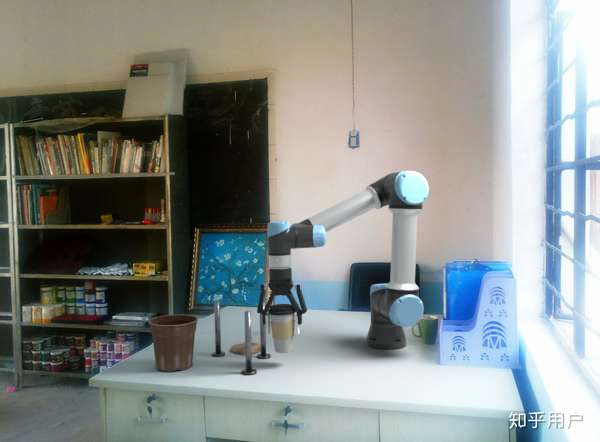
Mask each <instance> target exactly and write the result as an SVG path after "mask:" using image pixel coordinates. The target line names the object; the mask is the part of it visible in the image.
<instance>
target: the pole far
mask: <svg viewBox="0 0 600 442" xmlns="http://www.w3.org/2000/svg"><path fill="white" fill-rule="evenodd" d="M220 302H221V301H220V299H214V300H213V309H214V312H213V313H214V315H213V316H214V338H215V340H214V343H215V345H214V347H215V348H214V349H215V351H214V352H211V355H210V356H211V357H213V358H222V357H225V356H226V352H225V351H222V339H221V338H222V334H221V303H220Z"/></svg>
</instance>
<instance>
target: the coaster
mask: <svg viewBox="0 0 600 442" xmlns="http://www.w3.org/2000/svg"><path fill="white" fill-rule="evenodd" d="M251 344H252V355H255V354H256V355H257V354H260V353H261V343H256V342H251ZM230 352H231V353H232V354H235V355H243V356H246V352H245V342H244V343H243V342H242V343H238V344H234V345H232V346H231V347H230Z"/></svg>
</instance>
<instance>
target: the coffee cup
mask: <svg viewBox="0 0 600 442" xmlns="http://www.w3.org/2000/svg"><path fill="white" fill-rule="evenodd" d="M295 313H296V312H295V310H294V308H293V306H292V304H291V303H290V304H289V303H276V304H271V306H270V308H269V310H268V313H267V314H270V331H271V336H272V340H273V346H274V351H275V352H276V353H279V354H288V353H290V352H293V350H294V349H293V348H294V337H295V315H296V314H295Z"/></svg>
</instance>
